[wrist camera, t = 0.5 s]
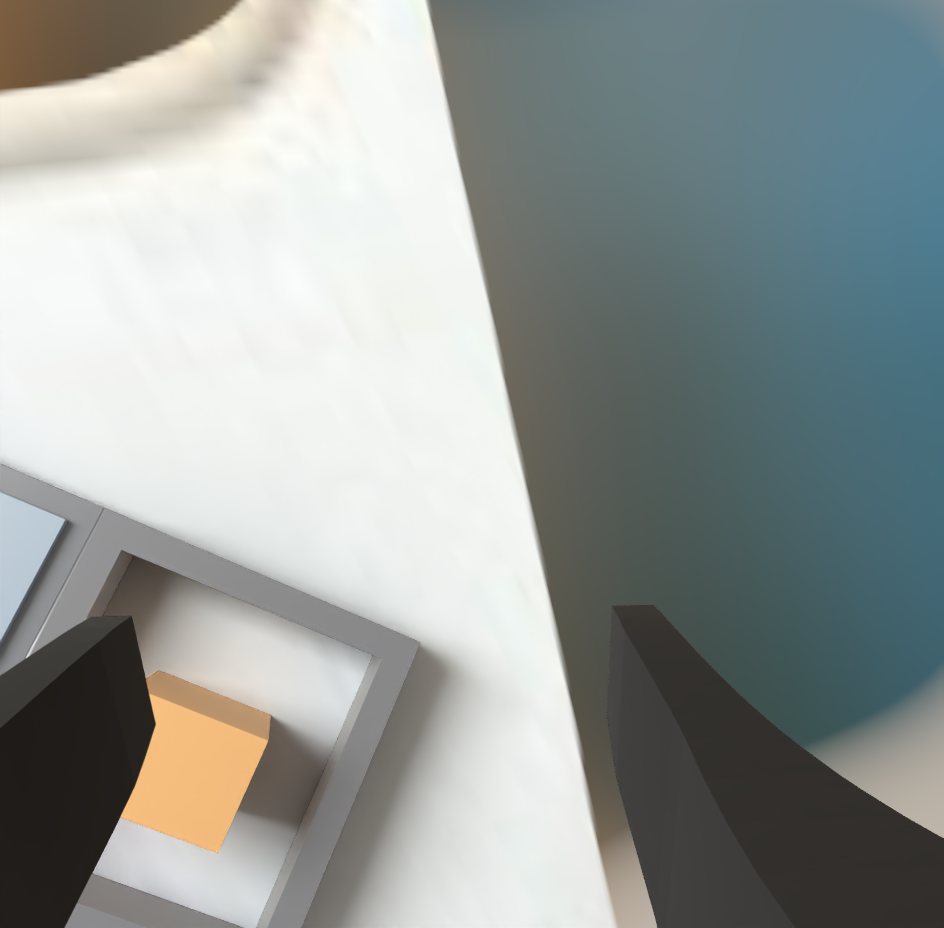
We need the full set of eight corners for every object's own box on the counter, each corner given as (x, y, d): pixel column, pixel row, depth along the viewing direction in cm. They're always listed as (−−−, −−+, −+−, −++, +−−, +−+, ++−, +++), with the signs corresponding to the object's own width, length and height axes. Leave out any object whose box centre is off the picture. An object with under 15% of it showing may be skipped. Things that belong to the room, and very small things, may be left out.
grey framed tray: (269, 971, 34) (267, 1008, 31) (-457, 716, 30) (-537, 730, 27) (409, 637, 37) (420, 642, 34) (-230, 366, 33) (-279, 345, 30)
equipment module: (228, 808, 34) (218, 853, 29) (113, 764, 34) (77, 801, 28) (270, 715, 35) (268, 740, 29) (158, 670, 35) (133, 687, 29)
